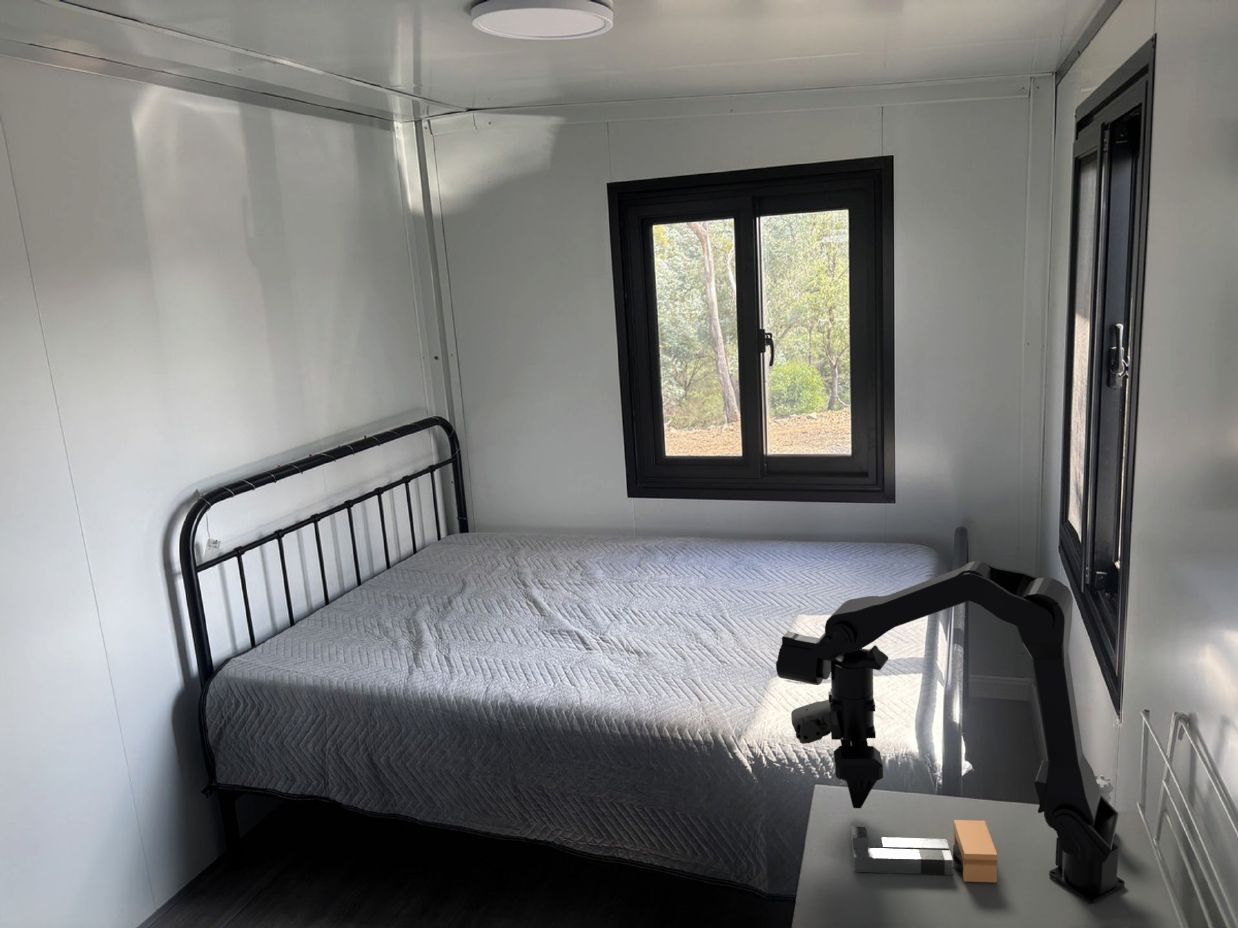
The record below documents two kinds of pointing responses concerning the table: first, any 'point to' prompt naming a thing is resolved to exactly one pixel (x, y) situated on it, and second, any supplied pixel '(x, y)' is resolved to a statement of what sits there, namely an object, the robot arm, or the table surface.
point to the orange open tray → (976, 851)
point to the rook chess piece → (1104, 788)
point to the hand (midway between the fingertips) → (853, 788)
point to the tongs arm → (897, 858)
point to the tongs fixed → (925, 847)
